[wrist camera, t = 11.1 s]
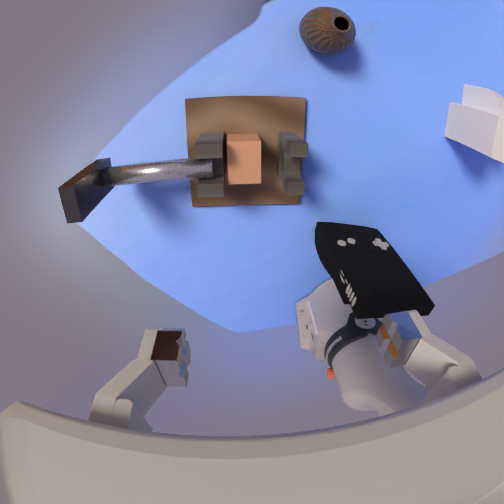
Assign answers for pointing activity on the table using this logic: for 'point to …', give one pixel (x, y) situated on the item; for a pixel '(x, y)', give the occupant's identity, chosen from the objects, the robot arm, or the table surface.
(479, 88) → the corner bracket
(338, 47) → the vase
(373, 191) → the table surface
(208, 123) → the shaft stand
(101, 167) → the shaft
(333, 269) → the handheld gaming console
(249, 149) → the block
